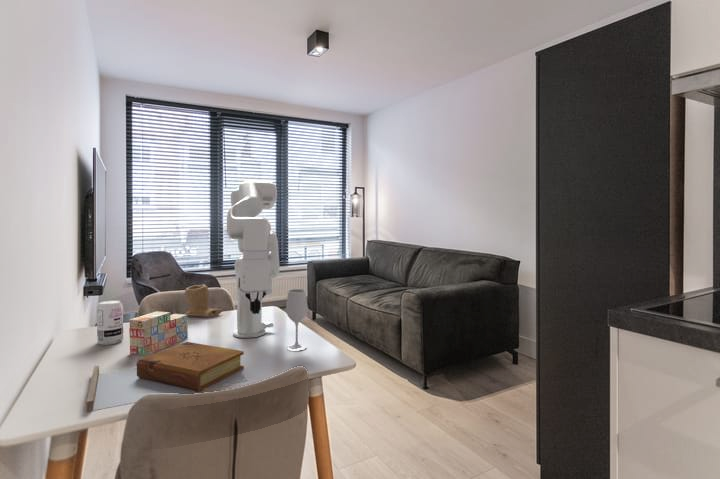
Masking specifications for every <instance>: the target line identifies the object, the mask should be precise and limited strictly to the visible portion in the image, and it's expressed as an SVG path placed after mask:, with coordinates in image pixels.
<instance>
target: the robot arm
mask: <svg viewBox="0 0 720 479" xmlns="http://www.w3.org/2000/svg"><path fill="white" fill-rule="evenodd" d="M277 198H278V189H277V186H276V185H275V183H274V182H272V181H269V180H246V181H243V182H241V183H240V184H239V185H238V188H235V189H233V190H232V191H231V193H230V204H231V207H230V208H229V210H228V211H227V215H226V233H227V236H228V237H229V238H230V239H232V240H236V241H237V245H238V247H237V248H238V250H239V252H240V253H241V254H242V256H239V257H238V258H236V260H235V262H234V272H235V278H236V279H235V280H236V301H237V302H236V309H237V310H236V329H234V330H233V333H232V335H233V336H234V337H236V338H240V339H251V338H253V339H254V338H259V337H261V336H263V335H265V334H266V329H267V328H274V322H273V321H272V322H271V321H270V322H269V321H266V322H264V321H263V320H262V316H263V315H262V314H263V313H262V310H263V309H262V304H263V303H262V301H263V299H264V298H265V297H266V296H267V295H270V294H272V293H273V289H272V288H273V279H277V278H278V277H279V275H280V256H279V254H280V253H279V240H278V237H277V234H276V233H275V232H274V231H272V227H271V226H272V224H271V223H270V222H269V220H268V219H267V218H266V217H259V216H258V215H260V214H261V213H262V212H263V210H270V209H272V208H273V207H274V205H275V203H276V201H277ZM257 216H258V217H257Z"/></svg>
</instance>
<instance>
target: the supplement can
mask: <svg viewBox="0 0 720 479" xmlns="http://www.w3.org/2000/svg"><path fill="white" fill-rule="evenodd" d="M96 331H97V338H96V340H97V343H98V344H99V345H101V346H108V345H109V346H111V345H115V344H119V343H121V342H122V341H123V340H124V305H123V303H122V301H121V300H115V299H114V300H113V299H112V300H105V301H100V302H98V304H97V305H96Z"/></svg>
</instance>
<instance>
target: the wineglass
mask: <svg viewBox="0 0 720 479" xmlns="http://www.w3.org/2000/svg"><path fill="white" fill-rule="evenodd" d="M285 311H286V315H287V317H288V318H289V319H290V320H291V321H292V322H293V323H294V325H295V343H294V344H291V345H292V346H290V345H289V348H291V349H297V348H301V347H302V346H301V345H302V344H299V340H298V338H299V337H298V336H299V334H298V331H299V323H300V322H301V321H302V320H303V319H305V317H306V316H307V314H308V299H307V292H306V290H305V289H298V288H296V289H295V288H294V289H288V292H287V296H286V305H285Z"/></svg>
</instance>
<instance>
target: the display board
mask: <svg viewBox="0 0 720 479" xmlns="http://www.w3.org/2000/svg"><path fill="white" fill-rule="evenodd" d="M90 379H91V380H90V384H89V390H88V394H87V399H86V411H87V412H89V413H90V412H95V411H98V410H99V411H100V410H105V409H111V408H115V407H120V406H126V405H130V404H136V403H137V402H136V401H137V400H138V399H139V398H140V397H141V396H143V395H145V394H149V393H182V394H186V393H191V392H195V391H196V390H191V389H187V388H182V387H178V386H173V385H169V384H165V383H160V382H156V381H151V380H147V379H142V378H139V377H138V376H137V367H134V368H128V369H121V370H115V371H110V372H109V371H108V372H103V373H100V366H99V365H95V366H93V370H92V375H91V378H90ZM247 381H248V379H247V377H246V376H245V375H244V373H243V372H242V370H240V371H238V372H237V373H235V374H233V375H231V376H229V377H227V378H225V379H223V380H221V381H219V382H218V383H216V384H214V385H212V386H210V387H208V388H206V389H205V390H207V389H211V388H212V389H213V388H217V387H222V386H227V385H231V384H237V383H241V382H247ZM196 392H197V391H196ZM135 402H136V403H135Z"/></svg>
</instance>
